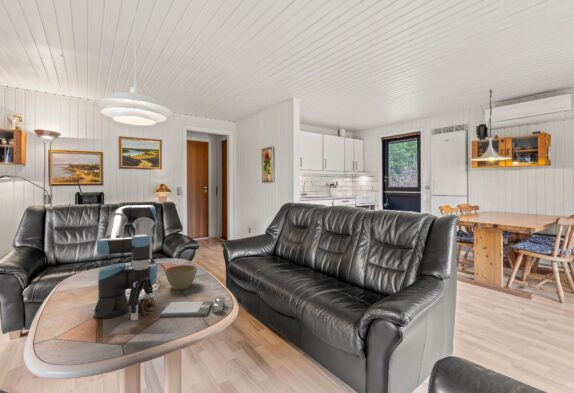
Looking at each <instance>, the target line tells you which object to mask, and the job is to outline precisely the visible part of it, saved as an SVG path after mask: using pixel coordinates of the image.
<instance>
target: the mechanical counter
mask: <svg viewBox="0 0 574 393" xmlns="http://www.w3.org/2000/svg"><path fill="white" fill-rule="evenodd" d="M137 305H138V316H140V317H142V318H144V317H148V316H150V315H152V313H153V312H155V311H156V310H157V309H158V308H157V305H156V301H155V300H154V296H151V297H150V298H148V299H147V298H144V297H143V298H141V299H138V302H137Z"/></svg>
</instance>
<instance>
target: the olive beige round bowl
mask: <svg viewBox="0 0 574 393" xmlns="http://www.w3.org/2000/svg"><path fill="white" fill-rule="evenodd" d="M197 270H198V267H197V266H195V265H191V264H190V265H189V264H184V265H183V264H181V265H175V266H169V267H168V268H166V269H165V276H166V280H167V282H168V283H169V285H170V286H171V288H172V289H173V290H176V291H182V290H186V289H188V288H190V287H191V285H192V284H193V282H194V281H195V278H196V274H197Z"/></svg>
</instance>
